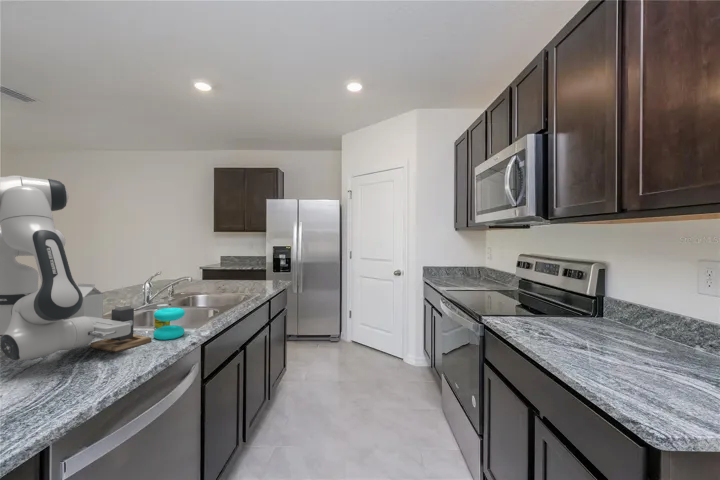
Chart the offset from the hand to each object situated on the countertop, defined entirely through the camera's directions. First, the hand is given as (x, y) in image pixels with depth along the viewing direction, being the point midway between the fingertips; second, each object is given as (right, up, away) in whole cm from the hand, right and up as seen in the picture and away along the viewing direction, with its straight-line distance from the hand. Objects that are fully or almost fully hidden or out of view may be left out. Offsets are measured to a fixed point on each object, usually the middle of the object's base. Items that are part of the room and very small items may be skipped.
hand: (125, 321), depth 111 cm
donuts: (+9, -8, +9) cm, 16 cm away
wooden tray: (-1, -8, -1) cm, 8 cm away
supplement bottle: (+1, -8, +19) cm, 20 cm away
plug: (-1, -5, -1) cm, 6 cm away
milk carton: (-20, -7, +7) cm, 23 cm away
